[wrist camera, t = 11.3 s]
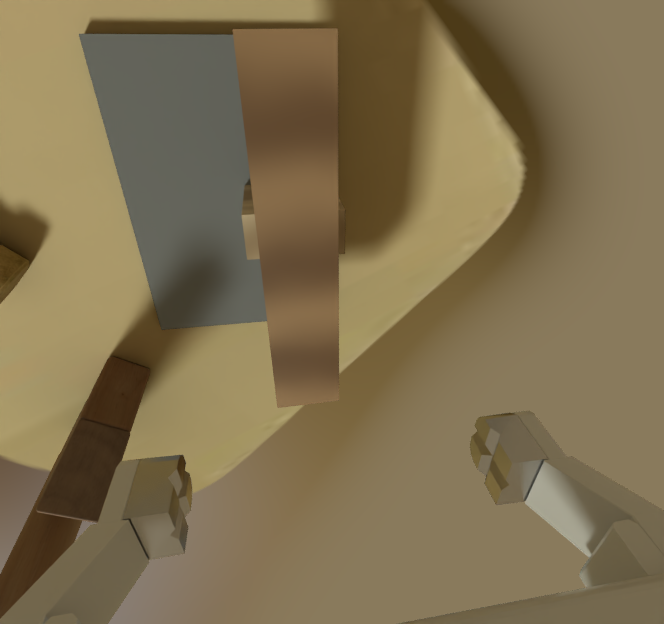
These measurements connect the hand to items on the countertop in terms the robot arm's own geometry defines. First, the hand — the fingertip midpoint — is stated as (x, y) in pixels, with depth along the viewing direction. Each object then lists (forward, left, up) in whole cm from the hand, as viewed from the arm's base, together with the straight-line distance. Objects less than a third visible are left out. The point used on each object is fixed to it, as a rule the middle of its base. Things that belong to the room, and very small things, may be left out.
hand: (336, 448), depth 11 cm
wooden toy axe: (+18, -17, -23) cm, 34 cm away
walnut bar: (0, 0, -16) cm, 16 cm away
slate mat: (0, -4, -22) cm, 23 cm away
